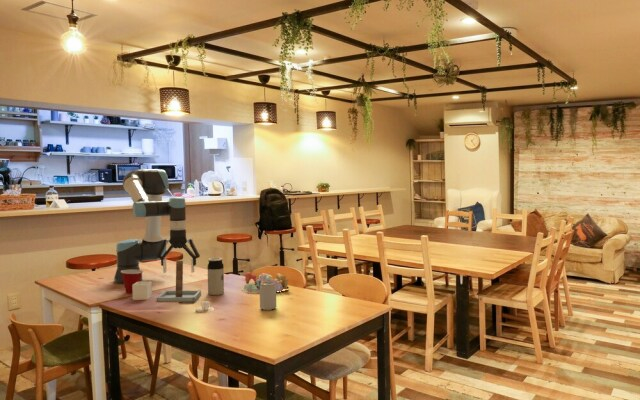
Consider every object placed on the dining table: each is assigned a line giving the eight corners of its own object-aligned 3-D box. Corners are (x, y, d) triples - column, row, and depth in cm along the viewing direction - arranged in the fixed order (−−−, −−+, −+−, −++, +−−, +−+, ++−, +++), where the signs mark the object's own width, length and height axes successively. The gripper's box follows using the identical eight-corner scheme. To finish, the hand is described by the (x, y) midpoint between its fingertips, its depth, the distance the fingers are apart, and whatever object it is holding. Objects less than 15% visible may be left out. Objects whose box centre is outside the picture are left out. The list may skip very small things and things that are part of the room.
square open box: (137, 297, 247) (137, 281, 246) (152, 297, 247) (151, 281, 246) (132, 301, 240) (132, 284, 239) (147, 301, 240) (147, 284, 239)
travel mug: (204, 294, 252) (204, 259, 251) (213, 291, 259) (213, 256, 258) (218, 296, 249) (217, 260, 248) (227, 292, 256) (226, 257, 255)
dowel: (176, 296, 245) (177, 260, 244) (183, 296, 245) (183, 260, 244) (174, 298, 242) (175, 261, 241) (181, 298, 242) (182, 261, 241)
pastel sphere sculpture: (282, 283, 278) (282, 266, 278) (295, 292, 256) (295, 275, 256) (238, 287, 269) (237, 270, 269) (247, 297, 247) (247, 279, 247)
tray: (165, 295, 251) (165, 290, 250) (201, 295, 251) (200, 290, 251) (156, 303, 237) (156, 297, 236) (194, 302, 237) (194, 297, 237)
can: (279, 307, 228) (278, 281, 227) (272, 311, 221) (271, 285, 220) (264, 306, 230) (263, 280, 230) (257, 310, 223) (256, 284, 223)
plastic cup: (147, 293, 255) (146, 270, 254) (125, 297, 248) (125, 273, 247) (139, 289, 263) (138, 267, 262) (118, 293, 256) (117, 270, 255)
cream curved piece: (196, 314, 219) (196, 305, 219) (192, 309, 226) (192, 301, 226) (216, 311, 223) (216, 302, 223) (211, 307, 230) (211, 298, 230)
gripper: (149, 230, 238) (150, 274, 239) (202, 229, 238) (202, 273, 239) (154, 228, 245) (155, 270, 246) (205, 228, 246) (206, 270, 247)
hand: (178, 272), depth 243 cm, fingers open, 13 cm apart
